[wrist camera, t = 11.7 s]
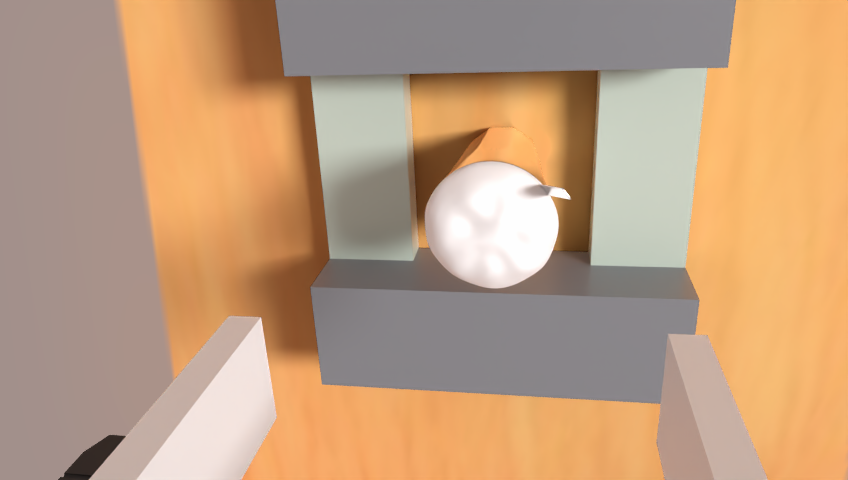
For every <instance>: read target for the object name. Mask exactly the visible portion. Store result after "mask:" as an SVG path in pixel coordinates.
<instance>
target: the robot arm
mask: <svg viewBox="0 0 848 480" xmlns="http://www.w3.org/2000/svg"><path fill="white" fill-rule="evenodd" d="M276 418H277V416H276V410H275V403H274V397H273V391H272V384H271V378H270V371H269V365H268V359H267V352H266V346H265V339H264V333H263V326H262V320H261V317H247V316H229V317H228V318H227V319H226V320H225V321H224V322H223V324H222V325H221V326H220V327H219V328H218V329H217V331H216V332H215V333H214V334H213V335H212V336H211V338H210V339H209V340H208V341H207V342H206V343H205V345H204V346H203V347H202V348H201V349H200V350H199V352H198V353H197V354H196V355H195V356H194V357H193V359H192V360H191V361H190V362H189V363H188V364H187V366H186V367H185V368H184V369H183V370H182V371H181V373H180V374H179V375H178V376H177V377H176V378H175V380H174V381H173V382H172V383H171V385H170V386H169V387H168V388H167V389H166V390H165V391H164V393H163V394H162V395H161V396H160V397H159V399H158V400H157V401H156V402H155V403H154V404H153V405H152V407H151V408H150V409H149V410H148V411H147V412H146V414H145V415H144V416H143V417H142V418H141V419H140V421H139V422H138V423H137V424H136V425H135V426H134V428H133V429H132V430H131V431H130V432H129V433H128V435H127V436H117V435H109V436H107V437H106V438H104V439H103V440H101V441H100V442H98V443H97V444H95V445H94V446H92V447H91V448H89V449H88V450H86V451H85V452H83V453H82V454H81V455H80V457H79V458H78V459H77V460H76V461H75V462H74V463H73V464H72V466H71V467H69V469H68V470H67V471H66V472H65V473H64V474H65V475H64V477H60V478H59V479H58V480H241V479H242V477H243V476H244V474H245V472H246V470H247V469H248V467H249V465H250V463H251V462H252V460H253V458H254V456H255V455H256V453H257V451H258V449H259V448H260V446H261V444H262V442H263V441H264V439H265V437H266V435H267V434H268V432H269V430H270V428H271V427H272V425H273V423H274V421H275V420H276ZM657 447H658V451H659V455H660V460H661V464H662V469H663V473H664V478H665V480H768V479H767V477H766V474H765V472H764V469H763V467H762V465H761V462H760V460H759V457H758V455H757V453H756V450H755V448H754V445H753V443H752V441H751V438H750V436H749V434H748V431H747V429H746V426H745V424H744V422H743V419H742V417H741V414H740V412H739V410H738V407H737V405H736V402H735V400H734V398H733V395H732V393H731V390H730V388H729V386H728V383H727V381H726V378H725V376H724V374H723V371H722V369H721V367H720V364H719V362H718V359H717V357H716V355H715V352H714V350H713V347H712V345H711V343H710V340H709V338H708V335H687V334H668V339H667V348H666V358H665V367H664V377H663V386H662V396H661V405H660V415H659V425H658V434H657Z"/></svg>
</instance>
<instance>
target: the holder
mask: <svg viewBox="0 0 848 480" xmlns="http://www.w3.org/2000/svg"><path fill="white" fill-rule="evenodd" d="M275 2H276V10H277V19H278V27H279V35H280V43H281V51H282V60H283V68H284V76H310V78H311V87H312V97H313V106H314V115H315V124H316V134H317V143H318V152H319V161H320V171H321V180H322V189H323V199H324V208H325V217H326V226H327V236H328V245H329V254H330V259H329V261H328V262H327V264H326V265H325V267H324V268H323V269H322V271H321V272H320V274H319V275H318V277H317V278H316V280H315V281H314V282H313V284H312V285H311V287H310V289H311V297H312V305H313V314H314V322H315V330H316V338H317V346H318V355H319V363H320V371H321V379H322V384H325V385H343V386H360V387H378V388H395V389H413V390H430V391H448V392H465V393H483V394H500V395H518V396H535V397H553V398H570V399H588V400H605V401H623V402H641V403H658V404H661V396H662V386H663V377H664V367H665V358H666V348H667V339H668V334H687V335H695V331H696V323H697V315H698V307H699V298H698V296H697V293H696V291H695V289H694V287H693V284H692V282H691V280H690V277H689V275H688V273H687V271H686V268H685V265H686V256H687V247H688V238H689V229H690V220H691V211H692V202H693V193H694V184H695V175H696V166H697V157H698V148H699V139H700V130H701V121H702V112H703V104H704V95H705V86H706V77H707V68H728V62H729V53H730V45H731V37H732V29H733V21H734V13H735V4H736V0H275ZM578 70H598V79H597V99H596V118H595V138H594V158H593V177H592V197H591V216H590V236H589V252H581V251H552V253H551V255H550V257H549V259H548V261H547V262H546V264H545V265H544V266H543V267H542V268H541V269H540V270H539V271H538V272H536V273H535V274H533V275H532V276H530V277H528V278H527V279H525V280H523V281H521V282H519V283H517V284H515V285H512V286H509V287H505V288H485V287H481V286H477V285H474V284H471V283H469V282H466V281H464V280H461V279H459V278H458V277H456V276H454V275H453V274H451V273H450V272H449V271H448V270H447V269H446V268H445V267H444V266H443V265H442V264H441V263H440V262H439V261H438V260H437V258H436V257H435V256H434V254H433V253H432V251H431V249H430V248H419V245H418V226H417V207H416V188H415V169H414V150H413V131H412V112H411V93H410V75H409V74H429V73H478V72H528V71H578Z"/></svg>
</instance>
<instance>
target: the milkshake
mask: <svg viewBox="0 0 848 480" xmlns="http://www.w3.org/2000/svg"><path fill="white" fill-rule="evenodd" d="M551 196H554V197H559V198H564V199H569V200H571V197H570V196H569V195H568V193H567V192H566V191H565V190H564V189H563V188H560V187H555V186H549V185H547V184H546V182H545V179H544V176H543V172H542V168H541V164H540V161H539V158H538V155H537V152H536V149H535V146H534V143H533V140H531V139H530V138H528V137H527V136H525V135H524V134H522V133H521V132H520V131H518V130H517V129H515V128H514V127H502V128H489V129H488V130H486V131H485V132H484V133H482V134H481V135H480V136H478V137H477V138H476V139H474V140H473V141H472V142H471V143H470V144H469V146H468V147H467V149H466V150H465V151H464V153H463V154H462V156H461V157H460V159H459V160H458V161H457V163H456V164H455V166H454V167H453V169H452V170H451V171H450V172H449V173H448V175H447V176H446V177H445V178H444V179H443V180H442V181H441V182H440V184H439V185H438V186H437V187H436V188H435V190H434V191H433V193H432V195H431V197H430V198H429V201H428V203H427V206H426V210H425V230H426V237H427V242H428V245H429V247H430V249H431V251H432V253H433V254H434V256H435V257H436V258H437V260H438V261H439V262H440V263H441V264H442V265H443V266H444V267H445V268H446V269H447V270H448V271H449V272H450V273H451V274H453V275H454V276H456V277H458V278H459V279H461V280H464V281H466V282H469V283H471V284H474V285H477V286H481V287H485V288H505V287H509V286H512V285H515V284H517V283H519V282H521V281H523V280H525V279H527V278H528V277H530V276H532V275H533V274H535V273H536V272H538V271H539V270H540V269H541V268H542V267H543V266H544V265H545V264H546V262H547V261H548V259H549V257H550V255H551V253H552V251H553V248H554V245H555V242H556V239H557V235H558V227H559V222H558V214H557V210H556V207H555V205H554V202H553V200H552V197H551Z"/></svg>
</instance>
